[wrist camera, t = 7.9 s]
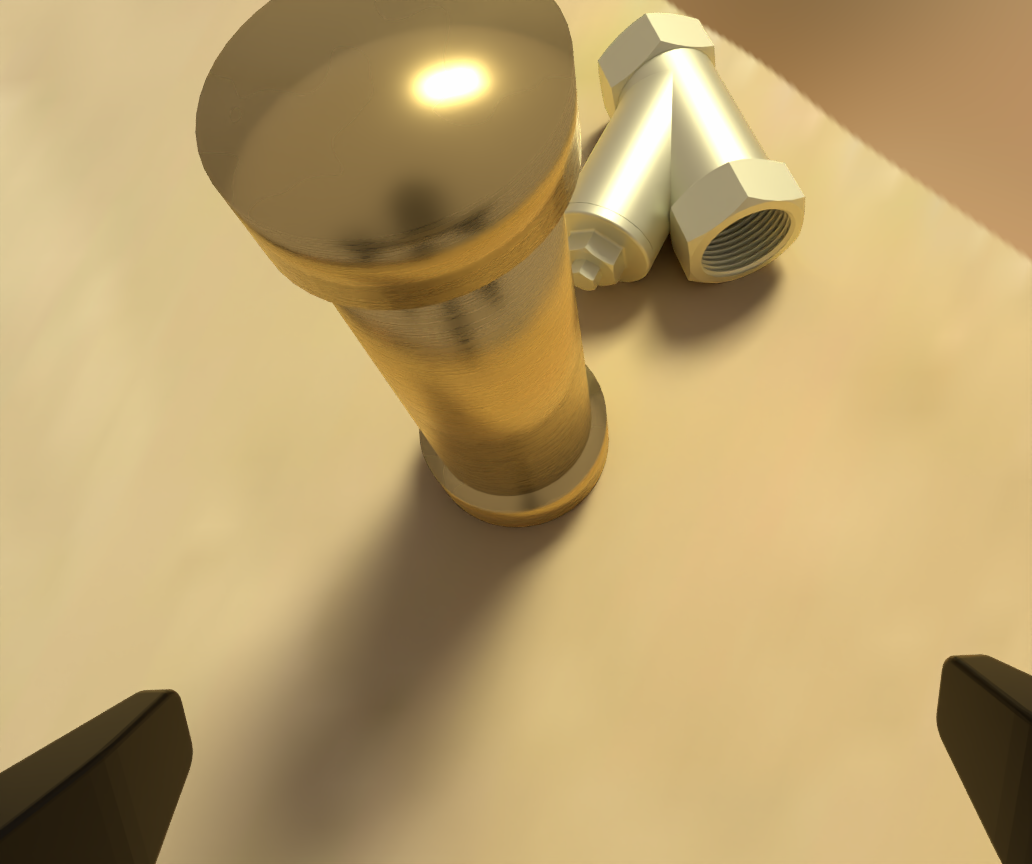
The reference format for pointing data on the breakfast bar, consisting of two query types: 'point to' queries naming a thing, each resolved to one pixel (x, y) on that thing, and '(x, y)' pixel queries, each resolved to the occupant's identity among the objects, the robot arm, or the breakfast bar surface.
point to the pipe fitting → (675, 168)
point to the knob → (428, 220)
